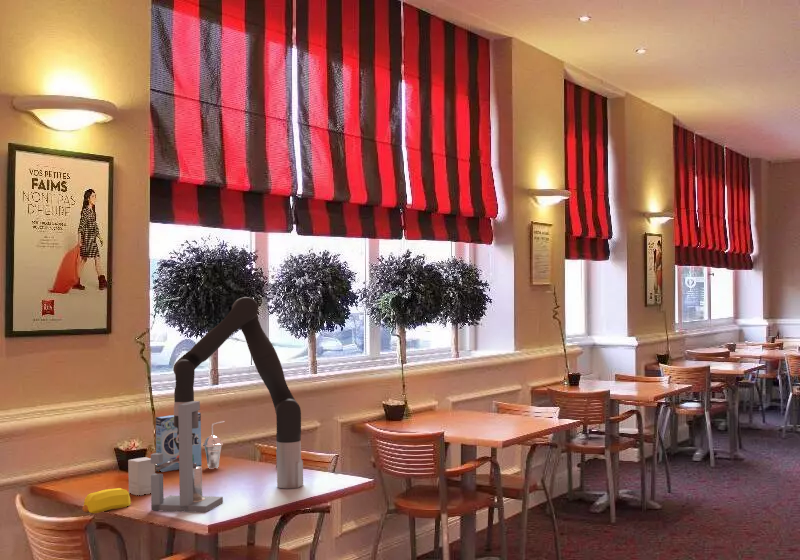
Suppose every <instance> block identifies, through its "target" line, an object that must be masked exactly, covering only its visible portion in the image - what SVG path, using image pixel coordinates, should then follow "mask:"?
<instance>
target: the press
mask: <svg viewBox="0 0 800 560" xmlns="http://www.w3.org/2000/svg"><path fill="white" fill-rule="evenodd" d="M200 410H201V401H197V400H196V401H195V400H194V401H191V402H187V403H184V404H180V405H178V419H179V469H178V470H179V471H178V472H179V483H178V484H179V495H172V494H170V495H169V496H167V497H164V473H155V474H153V475H151V494H150V503H151V505H150V506H151V507H150V508H151V510H163V511H162V512H182V511H196V512H195V513H207V512H209V511H211V510H212V509H214V508H216V507H217V505H218V506H219V505H221V504H223V503H222V502H224V498H223V497H224V496H207V495H202V500H199V501H193V457H192V429H193V428H198V413H199V411H200ZM150 458H151V464H155V465H156V464H159V463H162V462H163V453H156V452H153V453H151V454H150ZM220 503H221V504H220ZM215 506H216V507H215ZM213 507H214V508H213ZM210 509H211V510H210ZM208 510H209V511H208ZM206 511H207V512H206Z"/></svg>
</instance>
